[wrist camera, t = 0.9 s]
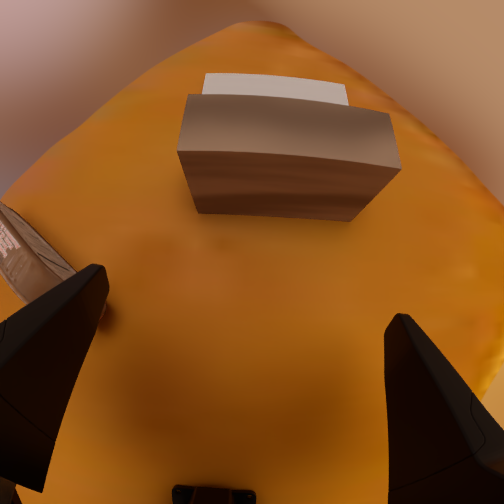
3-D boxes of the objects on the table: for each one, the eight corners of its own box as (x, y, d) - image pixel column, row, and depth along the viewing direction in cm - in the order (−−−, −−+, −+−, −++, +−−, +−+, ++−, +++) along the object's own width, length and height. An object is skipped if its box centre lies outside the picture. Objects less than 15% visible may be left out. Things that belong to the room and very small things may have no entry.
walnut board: (349, 222, 23) (401, 168, 15) (198, 213, 23) (176, 150, 14) (346, 177, 24) (389, 113, 16) (203, 168, 24) (188, 94, 15)
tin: (9, 236, 22) (-48, 206, 14) (25, 209, 23) (-28, 172, 14) (107, 341, 20) (45, 344, 12) (129, 308, 21) (72, 296, 13)
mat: (356, 168, 25) (358, 165, 24) (192, 157, 24) (191, 153, 24) (342, 88, 27) (344, 84, 26) (206, 77, 27) (206, 73, 26)
